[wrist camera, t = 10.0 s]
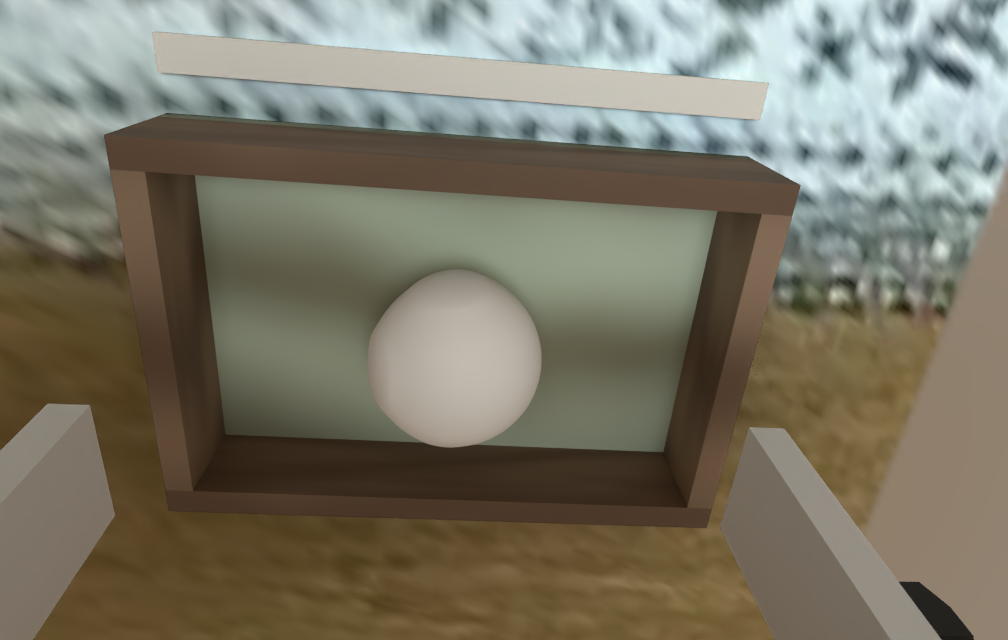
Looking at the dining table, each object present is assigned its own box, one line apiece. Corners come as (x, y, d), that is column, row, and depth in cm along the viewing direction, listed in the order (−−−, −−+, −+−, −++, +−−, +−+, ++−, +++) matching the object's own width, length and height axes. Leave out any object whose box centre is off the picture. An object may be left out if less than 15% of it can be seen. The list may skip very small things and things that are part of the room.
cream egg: (382, 238, 20) (356, 308, 15) (543, 252, 20) (564, 324, 16) (378, 382, 22) (353, 480, 17) (523, 392, 22) (537, 490, 18)
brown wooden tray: (166, 112, 18) (104, 135, 15) (747, 156, 20) (800, 185, 17) (210, 442, 23) (168, 511, 20) (676, 461, 24) (706, 528, 21)
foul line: (156, 31, 18) (151, 31, 17) (765, 82, 19) (769, 83, 19) (161, 71, 18) (158, 71, 18) (756, 118, 19) (760, 120, 19)
